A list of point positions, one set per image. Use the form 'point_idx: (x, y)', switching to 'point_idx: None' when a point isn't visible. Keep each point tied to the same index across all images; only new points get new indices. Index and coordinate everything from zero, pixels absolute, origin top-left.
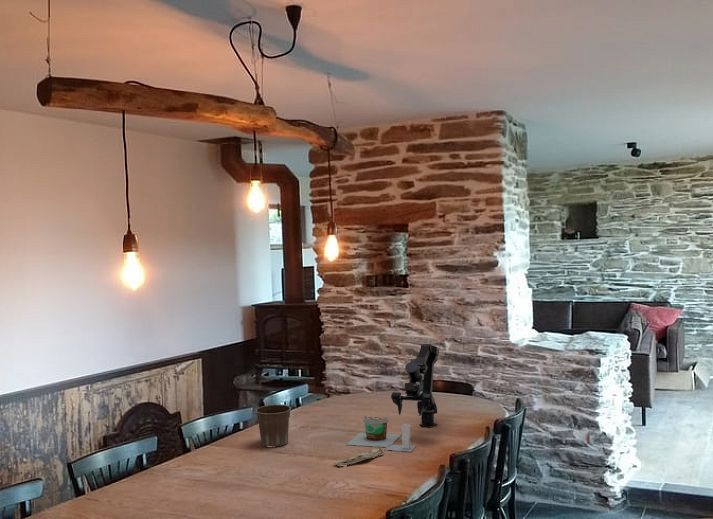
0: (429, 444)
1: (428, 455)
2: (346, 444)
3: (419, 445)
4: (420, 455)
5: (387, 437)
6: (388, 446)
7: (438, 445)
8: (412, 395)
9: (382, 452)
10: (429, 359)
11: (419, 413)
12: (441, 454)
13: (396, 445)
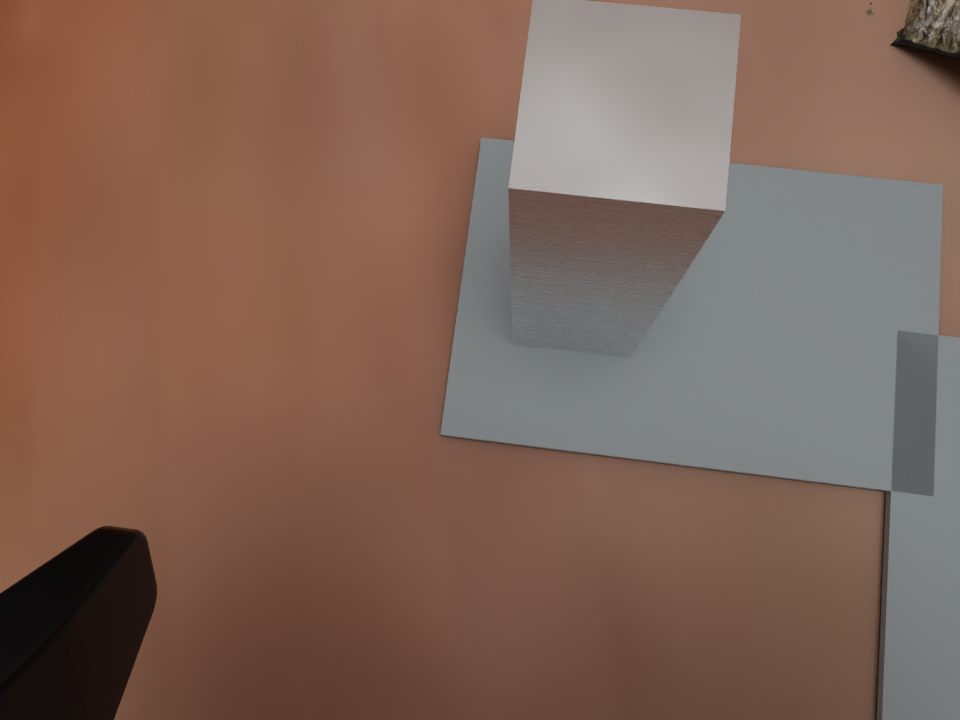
0: (211, 606)
1: (201, 29)
2: None
3: (382, 530)
4: (319, 17)
5: None
6: (914, 367)
7: None
8: None
9: (923, 29)
10: None
11: (96, 552)
12: (12, 92)
13: (784, 441)
